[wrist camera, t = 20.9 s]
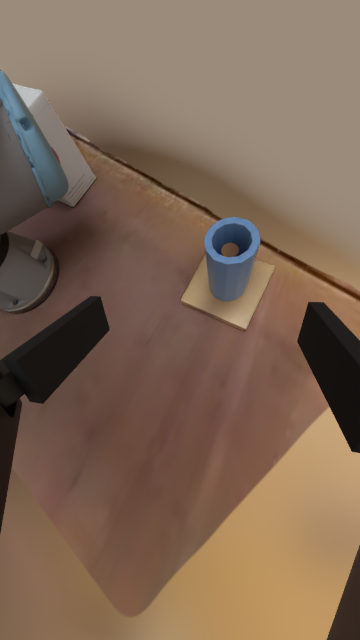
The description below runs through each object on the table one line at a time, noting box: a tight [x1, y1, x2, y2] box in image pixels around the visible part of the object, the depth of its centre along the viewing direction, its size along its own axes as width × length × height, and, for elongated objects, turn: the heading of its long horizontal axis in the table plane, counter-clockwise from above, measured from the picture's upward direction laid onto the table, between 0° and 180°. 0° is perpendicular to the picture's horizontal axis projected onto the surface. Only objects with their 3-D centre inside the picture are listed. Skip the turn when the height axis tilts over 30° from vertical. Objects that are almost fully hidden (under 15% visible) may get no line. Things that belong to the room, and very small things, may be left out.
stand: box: [181, 243, 275, 331], centre depth 28 cm, size 11×11×11 cm
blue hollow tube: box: [204, 217, 260, 301], centre depth 26 cm, size 6×6×11 cm
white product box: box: [13, 84, 96, 207], centre depth 39 cm, size 9×9×15 cm
